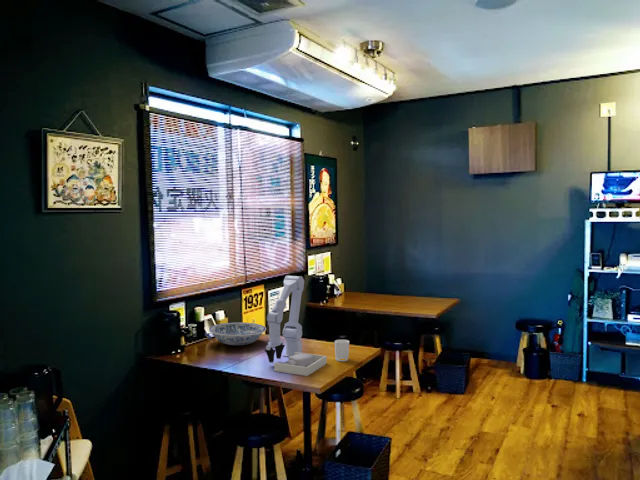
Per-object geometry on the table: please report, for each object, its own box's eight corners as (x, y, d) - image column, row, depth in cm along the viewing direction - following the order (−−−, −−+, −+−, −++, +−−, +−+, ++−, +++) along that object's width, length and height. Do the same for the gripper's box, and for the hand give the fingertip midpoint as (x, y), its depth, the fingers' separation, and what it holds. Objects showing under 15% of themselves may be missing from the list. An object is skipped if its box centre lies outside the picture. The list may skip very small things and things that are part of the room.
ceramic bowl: (262, 351, 277) (262, 334, 276) (202, 351, 277) (202, 334, 277) (269, 337, 311) (269, 321, 311) (216, 336, 312) (216, 321, 311)
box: (295, 359, 261) (295, 352, 261) (326, 363, 254) (326, 356, 253) (274, 370, 242) (274, 363, 241) (307, 376, 234) (307, 367, 234)
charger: (279, 367, 248) (301, 361, 259) (291, 371, 242) (313, 365, 252) (279, 358, 248) (301, 352, 259) (291, 362, 242) (313, 355, 252)
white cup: (348, 357, 265) (348, 339, 264) (349, 361, 257) (349, 343, 256) (334, 357, 264) (334, 339, 264) (335, 362, 257) (335, 343, 256)
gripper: (275, 331, 262) (275, 355, 262) (260, 337, 249) (261, 363, 249) (286, 332, 259) (286, 357, 259) (272, 338, 246) (273, 364, 246)
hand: (275, 360), depth 254 cm, fingers open, 7 cm apart
